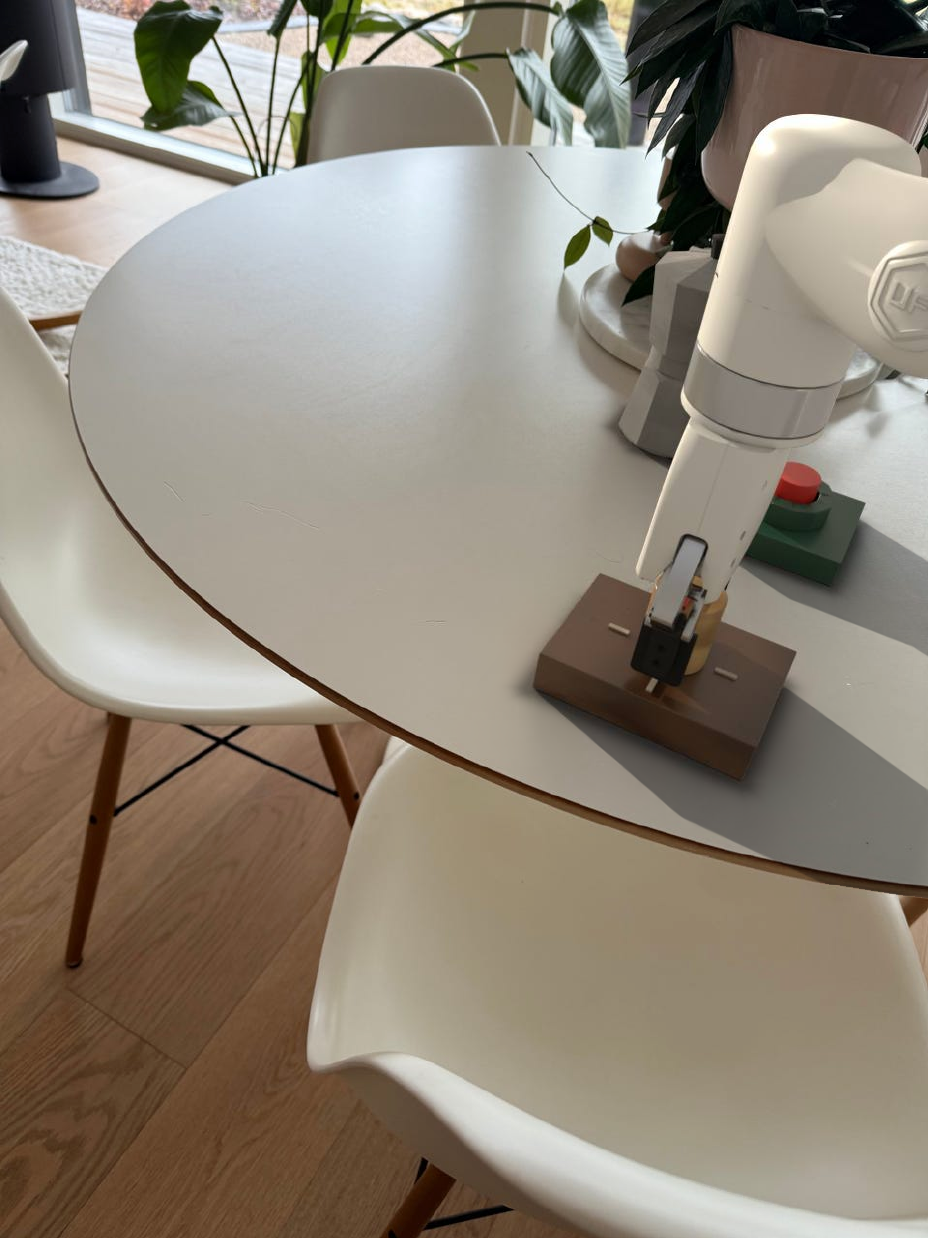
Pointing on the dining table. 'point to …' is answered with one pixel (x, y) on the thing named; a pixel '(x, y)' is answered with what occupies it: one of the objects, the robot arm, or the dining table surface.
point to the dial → (701, 625)
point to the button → (798, 483)
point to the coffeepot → (670, 348)
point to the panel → (671, 716)
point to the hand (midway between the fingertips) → (673, 642)
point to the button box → (808, 534)
